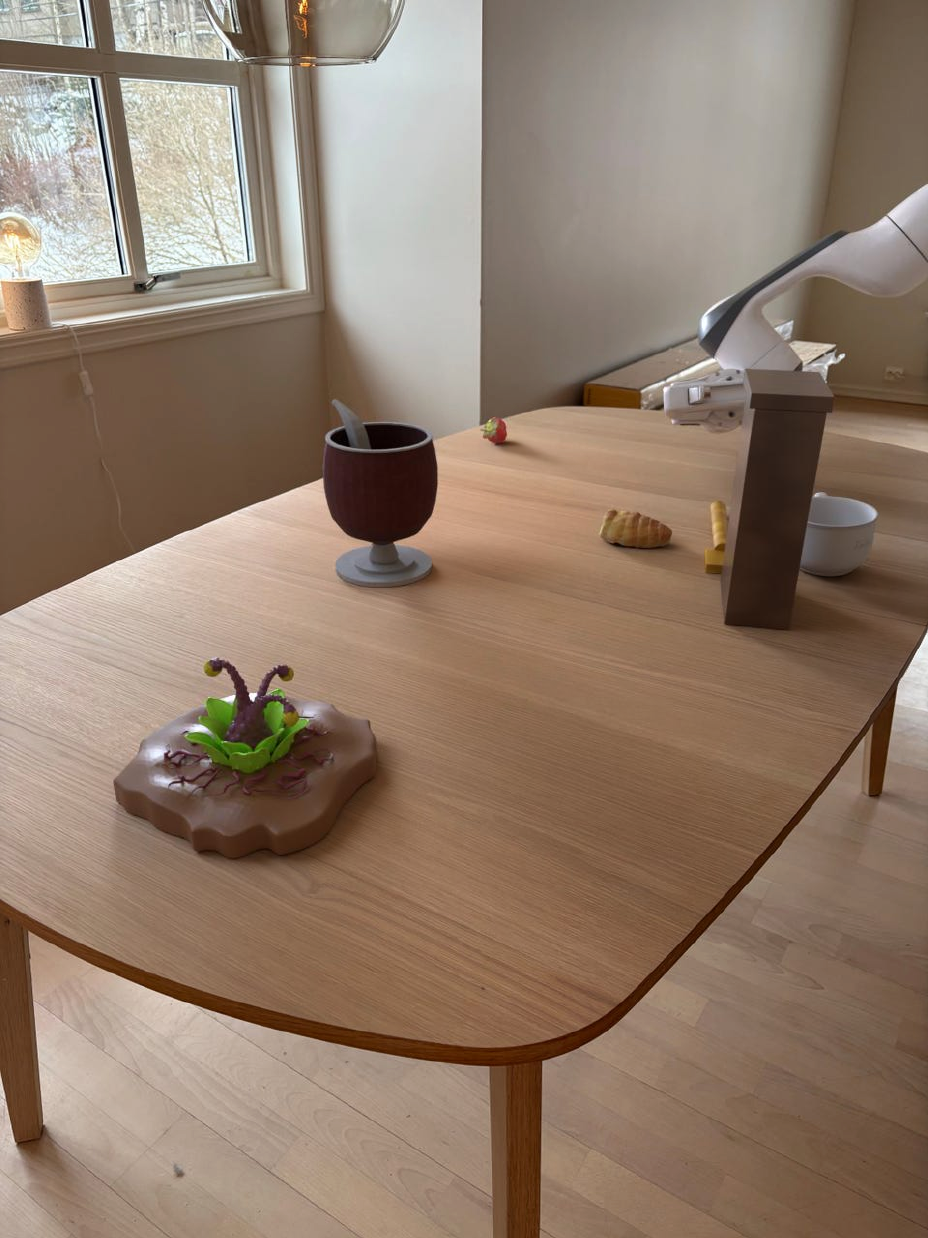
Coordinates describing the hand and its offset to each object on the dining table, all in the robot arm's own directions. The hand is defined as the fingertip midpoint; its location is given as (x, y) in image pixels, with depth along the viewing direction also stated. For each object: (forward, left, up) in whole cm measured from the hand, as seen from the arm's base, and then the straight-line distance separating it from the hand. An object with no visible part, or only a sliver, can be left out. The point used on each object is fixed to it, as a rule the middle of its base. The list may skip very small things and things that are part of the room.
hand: (740, 388), depth 132 cm
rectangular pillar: (-2, +32, -18) cm, 37 cm away
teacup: (-12, +17, -18) cm, 28 cm away
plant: (+42, +76, -18) cm, 89 cm away
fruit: (+39, -29, -18) cm, 52 cm away
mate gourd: (+44, +30, -18) cm, 56 cm away
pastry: (+13, +14, -18) cm, 26 cm away
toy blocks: (+1, +13, -18) cm, 23 cm away
